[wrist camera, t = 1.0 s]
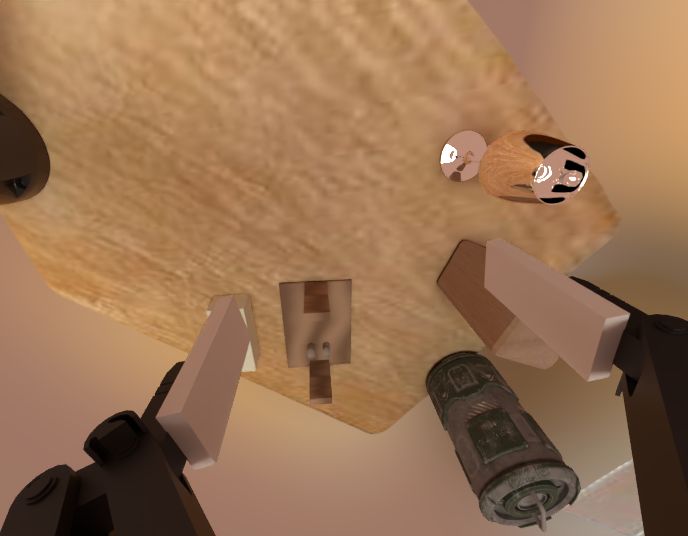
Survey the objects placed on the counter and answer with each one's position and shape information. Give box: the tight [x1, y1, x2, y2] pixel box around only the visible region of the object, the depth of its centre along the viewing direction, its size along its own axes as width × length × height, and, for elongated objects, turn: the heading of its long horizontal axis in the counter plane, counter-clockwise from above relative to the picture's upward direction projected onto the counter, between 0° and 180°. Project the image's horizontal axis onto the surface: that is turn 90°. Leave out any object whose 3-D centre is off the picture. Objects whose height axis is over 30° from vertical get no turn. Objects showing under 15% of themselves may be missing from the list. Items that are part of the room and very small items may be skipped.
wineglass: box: [440, 130, 590, 205], centre depth 37 cm, size 8×8×20 cm
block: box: [438, 241, 560, 369], centre depth 46 cm, size 10×10×20 cm
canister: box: [427, 352, 581, 532], centre depth 55 cm, size 16×16×28 cm
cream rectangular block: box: [206, 294, 260, 372], centre depth 53 cm, size 6×14×5 cm, turn 1°
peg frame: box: [279, 279, 352, 405], centre depth 52 cm, size 13×20×10 cm, turn 0°
